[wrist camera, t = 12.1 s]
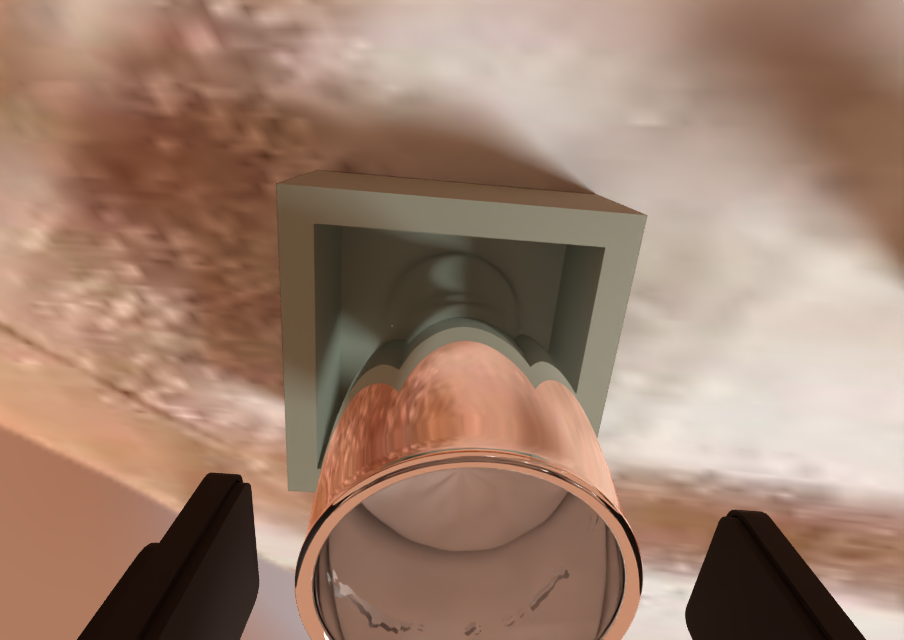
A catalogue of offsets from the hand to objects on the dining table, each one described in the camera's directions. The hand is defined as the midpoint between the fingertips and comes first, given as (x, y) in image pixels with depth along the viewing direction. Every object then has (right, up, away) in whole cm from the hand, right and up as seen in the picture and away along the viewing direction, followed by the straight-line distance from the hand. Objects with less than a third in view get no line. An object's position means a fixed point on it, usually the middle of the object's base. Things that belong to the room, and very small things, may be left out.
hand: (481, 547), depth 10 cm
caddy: (-1, +5, +14) cm, 15 cm away
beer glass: (-1, +5, +14) cm, 14 cm away
